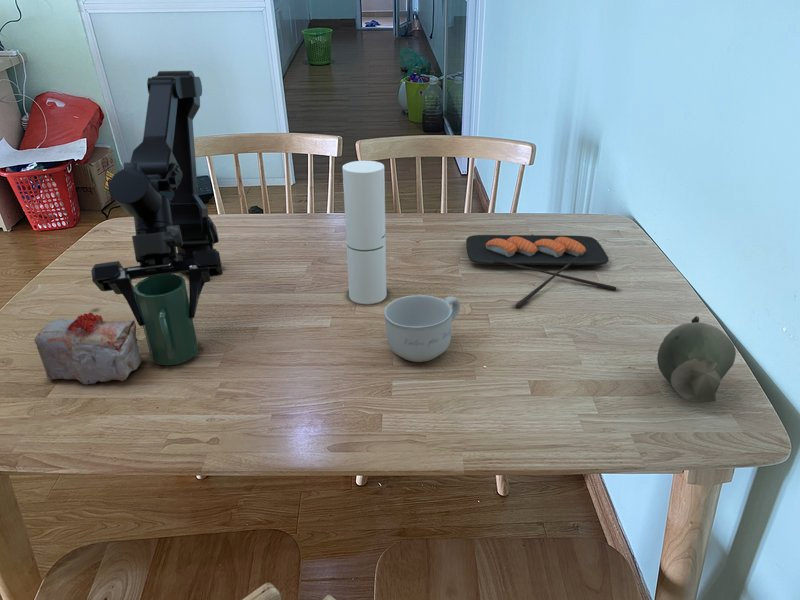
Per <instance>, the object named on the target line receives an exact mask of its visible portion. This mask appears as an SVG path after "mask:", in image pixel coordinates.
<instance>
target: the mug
mask: <svg viewBox="0 0 800 600" xmlns="http://www.w3.org/2000/svg"><path fill="white" fill-rule="evenodd" d="M133 286H134V293H135V297H136V301H137V305H138V309H139V313H140V317H141V321H142V325H143V326H142V329H143V332H144V336H145V337H144V338H145V340H146V345H147V348H148V353H149V356H150V359H151V360H152V362H153V363H155V364H157V365H161V366H176V365H179V364H184V363H185V362H188V361H190V360H192V358H195V357H196V355H197V354H198V351H199V343H198V337H197V332H196V327H195V323H194V318H191V313H190V299H189V293H188V289H187V283H186V279H185V278H184V277H183V276H182V275H179V274H176V273H175V274H161V275H155V276H151V277H146V278H142V280H139V281H138V282H137V283H136V284H135V285H133Z"/></svg>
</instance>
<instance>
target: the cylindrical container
mask: <svg viewBox="0 0 800 600" xmlns="http://www.w3.org/2000/svg"><path fill="white" fill-rule="evenodd" d="M385 178H386V177H385V164H384V163H381V162H379V161H374V160H355V161H350V162H347V163H345V164H343V165H342V182H343V184H342V185H343V186H342V187H343V203H344V204H343V206H344V222H345V240H346V241H345V243H346V262H347V280H348V281H347V283H348V298H349V299H350V300H351V301H352V302H354V303H357V304H359V305H374V304H378V303H380V302H383V301H384V300H385V299H386V298H387V244H386V243H387V241H386V240H387V239H386V237H387V236H386V195H385V194H386V190H385V189H386V187H385V185H386V183H385Z"/></svg>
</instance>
